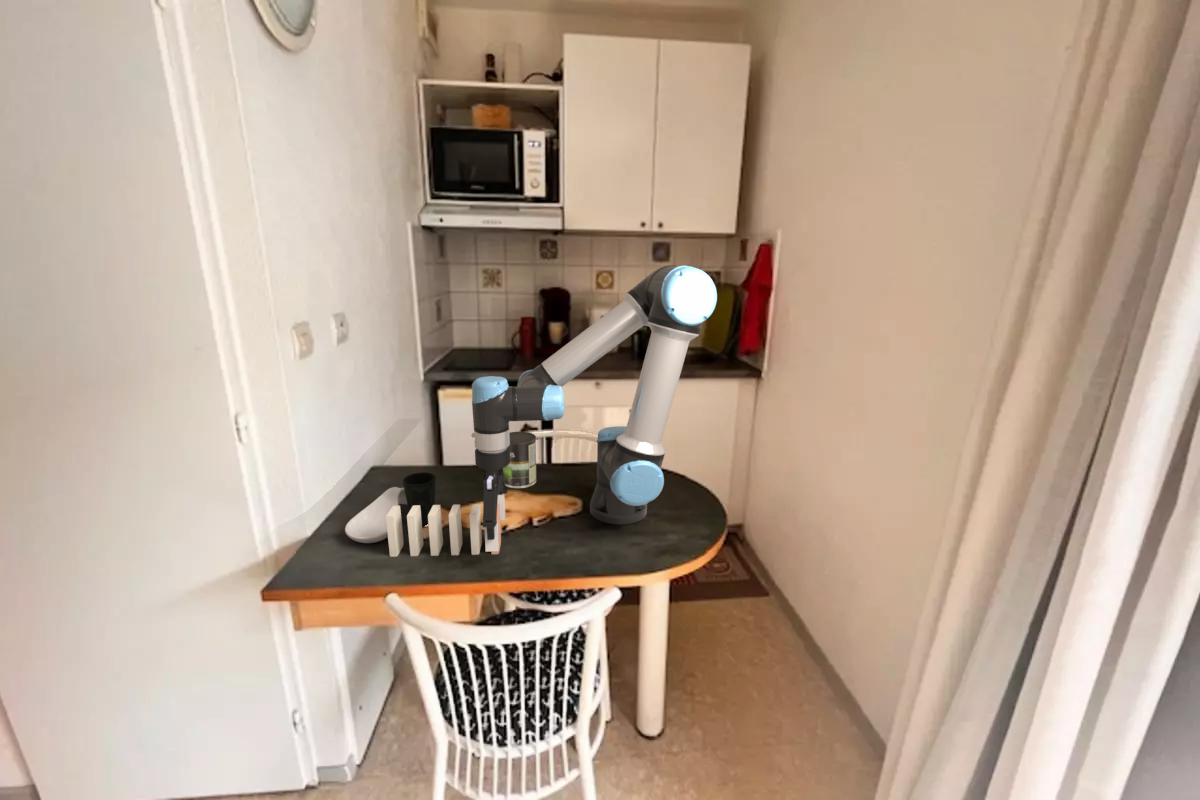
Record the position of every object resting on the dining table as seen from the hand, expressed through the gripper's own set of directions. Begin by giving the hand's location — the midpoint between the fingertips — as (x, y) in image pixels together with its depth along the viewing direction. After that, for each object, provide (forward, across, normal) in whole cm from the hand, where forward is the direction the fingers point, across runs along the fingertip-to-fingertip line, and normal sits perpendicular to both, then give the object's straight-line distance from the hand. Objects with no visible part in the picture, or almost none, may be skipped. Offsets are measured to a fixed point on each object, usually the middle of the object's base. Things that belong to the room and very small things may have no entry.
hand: (496, 534), depth 120 cm
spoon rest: (+4, -12, -29) cm, 32 cm away
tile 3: (+3, 0, -14) cm, 14 cm away
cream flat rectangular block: (+3, 0, -22) cm, 23 cm away
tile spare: (+3, 0, 0) cm, 3 cm away
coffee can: (+4, -37, +2) cm, 37 cm away
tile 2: (+3, 0, -9) cm, 10 cm away
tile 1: (+3, 0, -4) cm, 6 cm away
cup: (+4, -13, -20) cm, 24 cm away
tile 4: (+3, 0, -18) cm, 18 cm away
